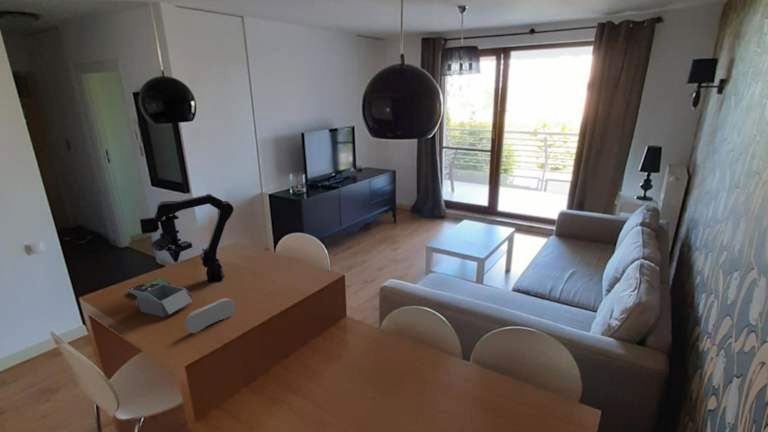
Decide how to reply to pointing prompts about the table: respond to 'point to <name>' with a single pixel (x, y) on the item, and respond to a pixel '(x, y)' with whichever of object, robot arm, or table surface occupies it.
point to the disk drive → (148, 286)
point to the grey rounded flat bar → (209, 315)
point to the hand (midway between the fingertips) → (176, 261)
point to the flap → (143, 295)
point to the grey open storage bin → (164, 300)
